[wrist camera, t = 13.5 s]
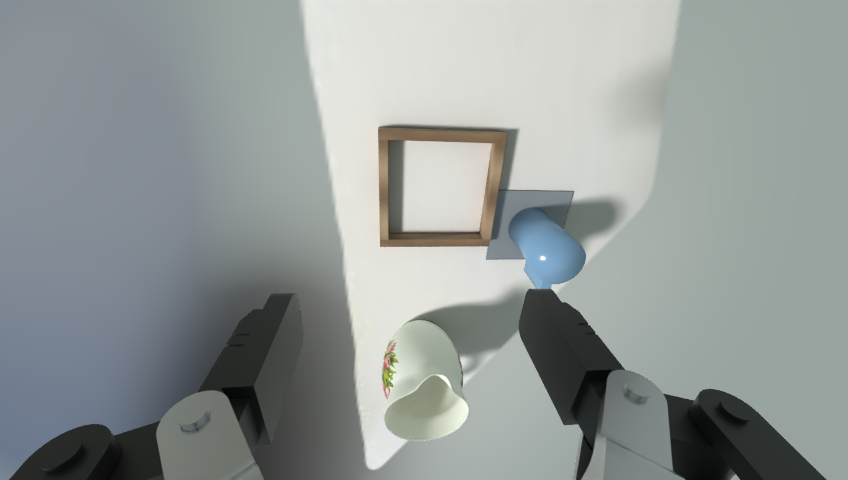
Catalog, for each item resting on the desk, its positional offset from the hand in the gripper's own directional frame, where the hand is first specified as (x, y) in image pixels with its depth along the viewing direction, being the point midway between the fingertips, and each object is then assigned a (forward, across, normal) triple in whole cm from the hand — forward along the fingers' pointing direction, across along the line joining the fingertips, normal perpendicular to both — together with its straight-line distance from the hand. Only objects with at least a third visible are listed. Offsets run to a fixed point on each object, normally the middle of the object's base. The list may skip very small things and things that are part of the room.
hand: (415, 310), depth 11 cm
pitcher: (+28, -4, +30) cm, 41 cm away
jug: (+28, -18, +11) cm, 35 cm away
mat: (+28, -18, +10) cm, 35 cm away
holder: (+28, -5, +5) cm, 29 cm away
